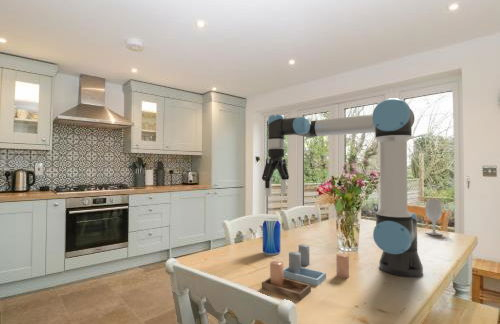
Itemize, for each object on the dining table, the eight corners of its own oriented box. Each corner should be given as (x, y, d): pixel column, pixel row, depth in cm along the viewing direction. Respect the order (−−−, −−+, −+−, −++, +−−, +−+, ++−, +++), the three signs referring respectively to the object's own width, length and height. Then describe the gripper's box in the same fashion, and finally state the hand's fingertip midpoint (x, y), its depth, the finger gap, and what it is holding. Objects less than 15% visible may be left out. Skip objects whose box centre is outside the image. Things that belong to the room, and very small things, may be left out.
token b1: (302, 274, 104) (302, 253, 104) (297, 278, 100) (297, 256, 100) (292, 272, 106) (292, 251, 107) (286, 275, 103) (286, 253, 103)
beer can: (279, 257, 126) (279, 221, 126) (261, 255, 127) (261, 220, 128) (281, 251, 134) (281, 218, 134) (264, 250, 136) (264, 217, 136)
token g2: (311, 264, 116) (311, 245, 116) (306, 267, 112) (306, 247, 112) (301, 262, 118) (301, 243, 119) (296, 265, 115) (296, 246, 115)
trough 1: (310, 293, 90) (310, 285, 90) (300, 302, 84) (300, 294, 84) (273, 282, 98) (273, 275, 98) (261, 290, 92) (261, 282, 92)
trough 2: (326, 279, 100) (326, 272, 100) (317, 287, 94) (317, 279, 94) (291, 271, 109) (291, 264, 109) (281, 277, 102) (281, 270, 102)
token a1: (285, 286, 93) (285, 262, 94) (279, 291, 90) (279, 266, 90) (274, 283, 96) (274, 260, 96) (267, 287, 92) (267, 263, 93)
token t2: (350, 276, 103) (350, 255, 103) (346, 280, 100) (346, 258, 100) (338, 273, 106) (338, 252, 106) (334, 277, 102) (334, 255, 102)
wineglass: (422, 232, 171) (421, 198, 172) (432, 231, 174) (432, 198, 174) (435, 236, 163) (434, 200, 164) (446, 235, 166) (445, 199, 166)
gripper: (282, 150, 142) (282, 191, 141) (254, 147, 122) (254, 196, 121) (295, 149, 137) (295, 192, 137) (268, 146, 117) (268, 197, 117)
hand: (276, 194), depth 129 cm, fingers open, 13 cm apart
